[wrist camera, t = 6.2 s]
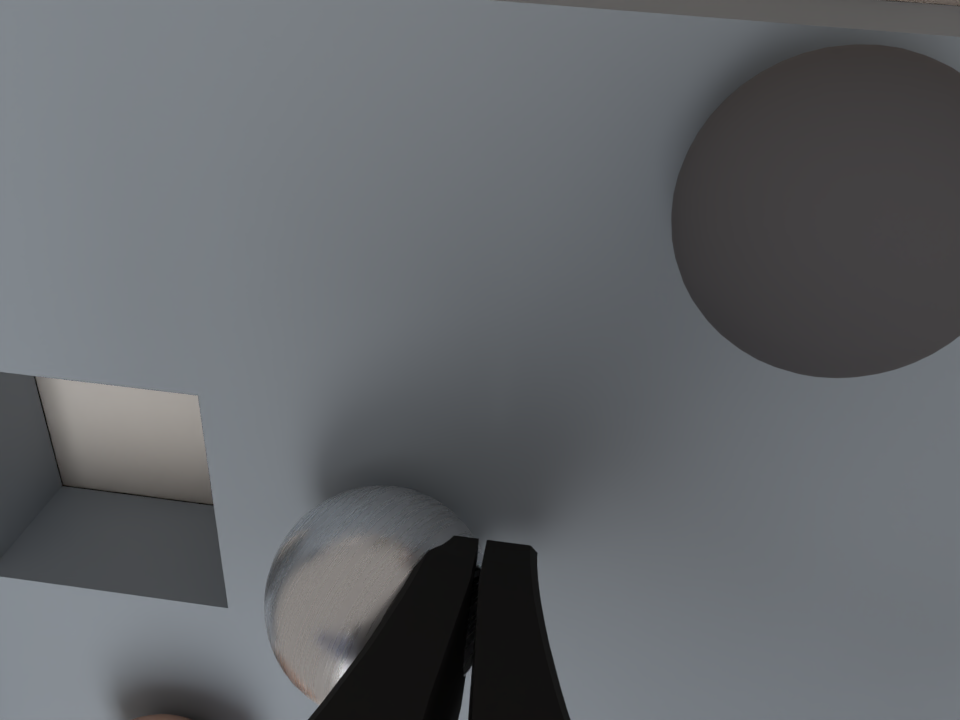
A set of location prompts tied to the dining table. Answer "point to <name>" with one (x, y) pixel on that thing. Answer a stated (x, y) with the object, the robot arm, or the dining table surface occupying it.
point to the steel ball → (350, 578)
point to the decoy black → (828, 212)
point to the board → (445, 353)
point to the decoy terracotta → (162, 717)
